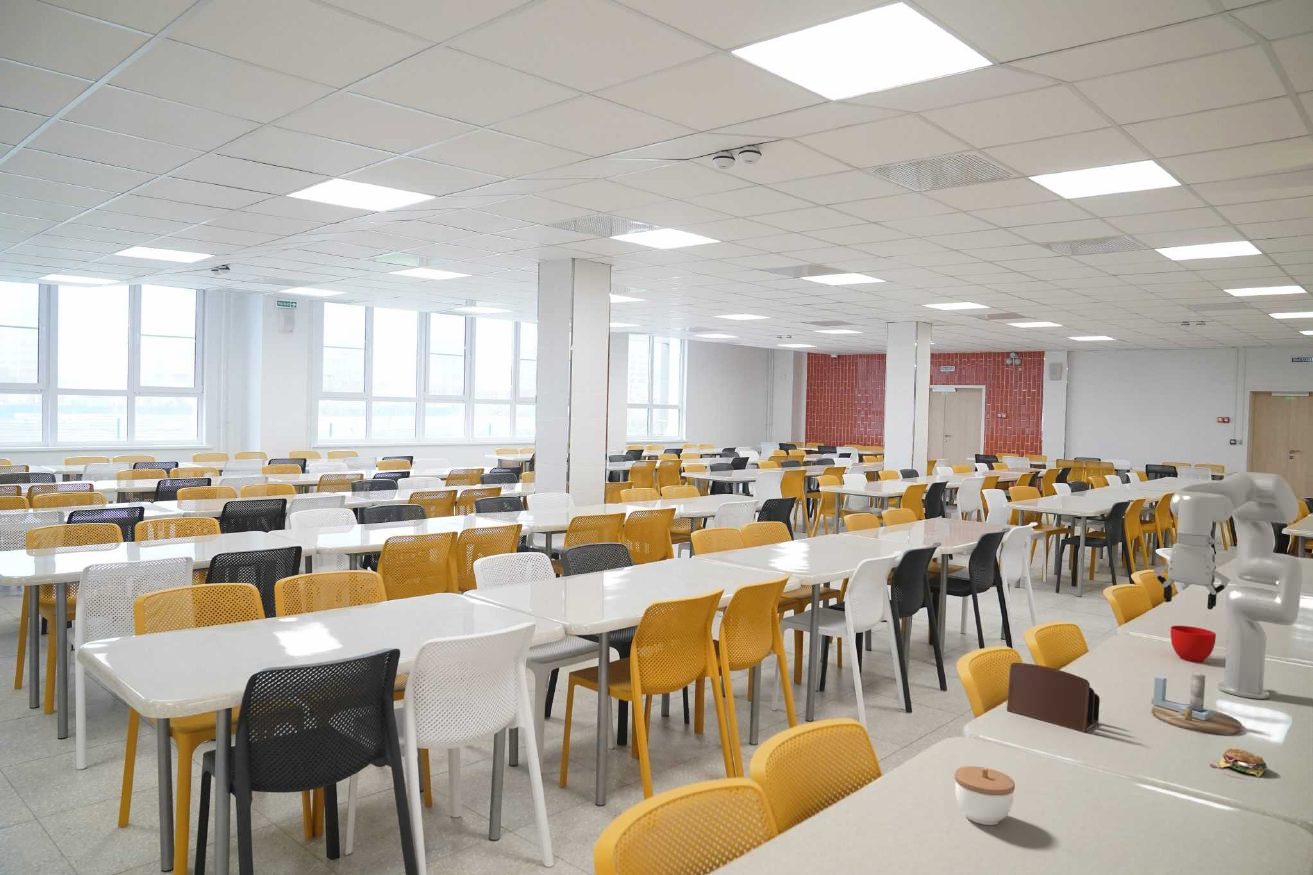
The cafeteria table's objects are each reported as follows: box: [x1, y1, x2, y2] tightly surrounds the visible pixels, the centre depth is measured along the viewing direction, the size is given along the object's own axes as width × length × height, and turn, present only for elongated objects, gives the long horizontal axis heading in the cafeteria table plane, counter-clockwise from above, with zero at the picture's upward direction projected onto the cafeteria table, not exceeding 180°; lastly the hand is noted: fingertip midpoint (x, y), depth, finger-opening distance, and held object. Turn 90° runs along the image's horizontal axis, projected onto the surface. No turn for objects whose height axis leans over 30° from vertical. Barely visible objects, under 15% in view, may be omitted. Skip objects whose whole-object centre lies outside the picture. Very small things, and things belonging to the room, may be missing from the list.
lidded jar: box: [954, 765, 1016, 826], centre depth 161 cm, size 11×11×9 cm
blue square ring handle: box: [1151, 675, 1214, 721], centre depth 226 cm, size 14×6×8 cm, turn 38°
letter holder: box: [1006, 662, 1101, 734], centre depth 220 cm, size 10×20×14 cm, turn 45°
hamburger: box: [1209, 748, 1268, 781], centre depth 192 cm, size 14×14×6 cm
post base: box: [1151, 672, 1243, 736], centre depth 223 cm, size 20×20×12 cm
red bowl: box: [1170, 625, 1217, 663], centre depth 287 cm, size 13×17×10 cm
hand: (1189, 605), depth 223 cm, fingers open, 9 cm apart
